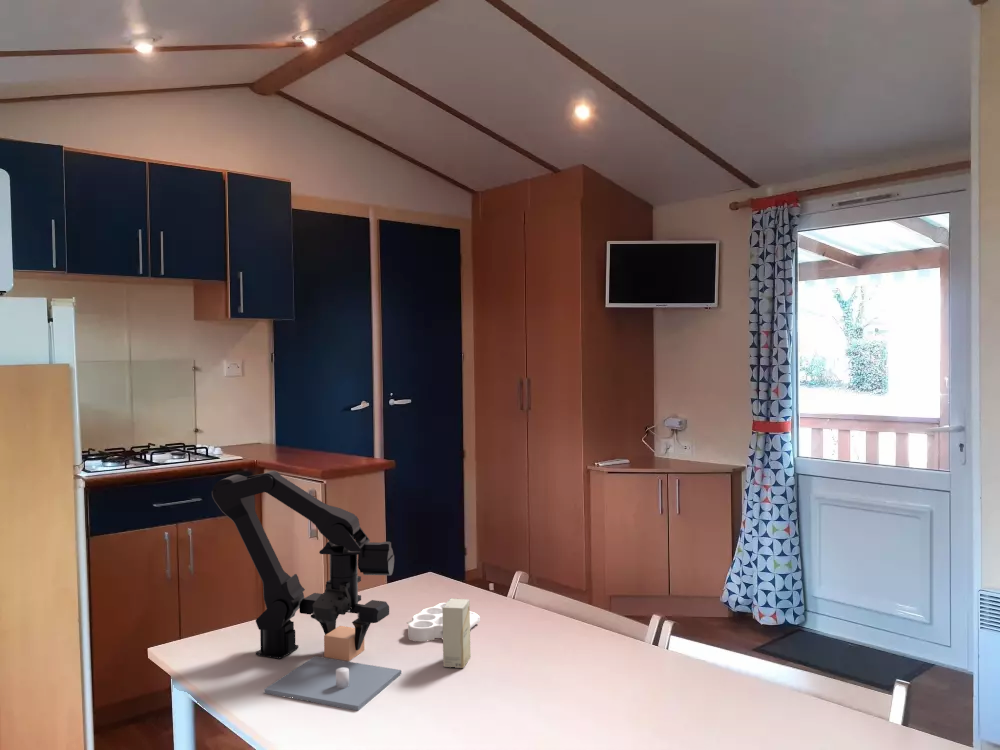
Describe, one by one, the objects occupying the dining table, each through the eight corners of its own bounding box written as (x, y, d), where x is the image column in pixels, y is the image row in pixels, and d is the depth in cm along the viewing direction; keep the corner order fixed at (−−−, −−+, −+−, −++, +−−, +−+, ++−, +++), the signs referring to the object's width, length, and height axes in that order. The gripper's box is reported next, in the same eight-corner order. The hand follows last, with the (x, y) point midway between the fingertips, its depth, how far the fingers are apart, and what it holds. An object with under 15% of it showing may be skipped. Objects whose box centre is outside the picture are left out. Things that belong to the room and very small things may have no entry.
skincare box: (463, 669, 148) (463, 608, 148) (442, 667, 149) (441, 607, 149) (471, 656, 154) (470, 598, 154) (450, 655, 155) (450, 597, 155)
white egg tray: (452, 649, 160) (393, 639, 165) (485, 621, 176) (430, 613, 182) (452, 633, 159) (392, 624, 165) (485, 607, 176) (430, 599, 182)
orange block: (324, 657, 155) (324, 635, 155) (340, 646, 160) (340, 625, 160) (349, 661, 153) (349, 639, 152) (364, 650, 158) (364, 629, 158)
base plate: (264, 693, 138) (264, 673, 138) (314, 660, 153) (314, 641, 153) (358, 710, 131) (357, 689, 131) (401, 674, 146) (400, 654, 146)
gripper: (282, 580, 152) (283, 656, 152) (362, 590, 145) (363, 669, 146) (314, 566, 162) (315, 637, 163) (390, 574, 156) (390, 648, 156)
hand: (344, 647), depth 156 cm, fingers closed on orange block, 6 cm apart
